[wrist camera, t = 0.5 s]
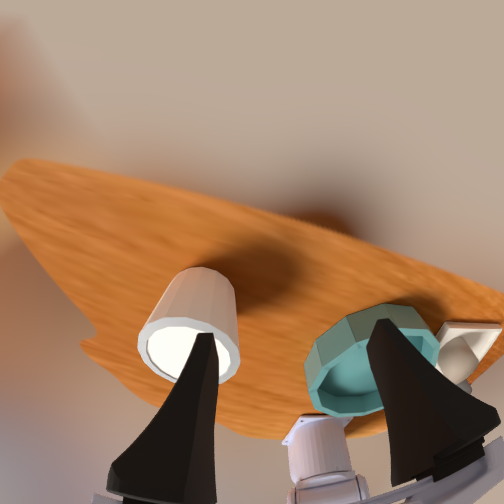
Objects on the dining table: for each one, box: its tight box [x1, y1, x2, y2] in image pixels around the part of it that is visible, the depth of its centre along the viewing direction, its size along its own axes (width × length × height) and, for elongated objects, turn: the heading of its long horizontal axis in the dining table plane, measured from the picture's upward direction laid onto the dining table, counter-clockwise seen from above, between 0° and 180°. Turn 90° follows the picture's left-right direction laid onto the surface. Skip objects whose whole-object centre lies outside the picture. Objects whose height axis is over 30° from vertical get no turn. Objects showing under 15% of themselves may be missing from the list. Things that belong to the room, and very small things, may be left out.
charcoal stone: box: [456, 379, 472, 394], centre depth 28 cm, size 5×5×4 cm
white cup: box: [138, 267, 240, 384], centre depth 20 cm, size 7×7×7 cm
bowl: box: [304, 303, 440, 417], centre depth 25 cm, size 14×14×4 cm
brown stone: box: [437, 337, 479, 385], centre depth 25 cm, size 5×5×4 cm
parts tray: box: [435, 321, 502, 375], centre depth 28 cm, size 14×13×1 cm
